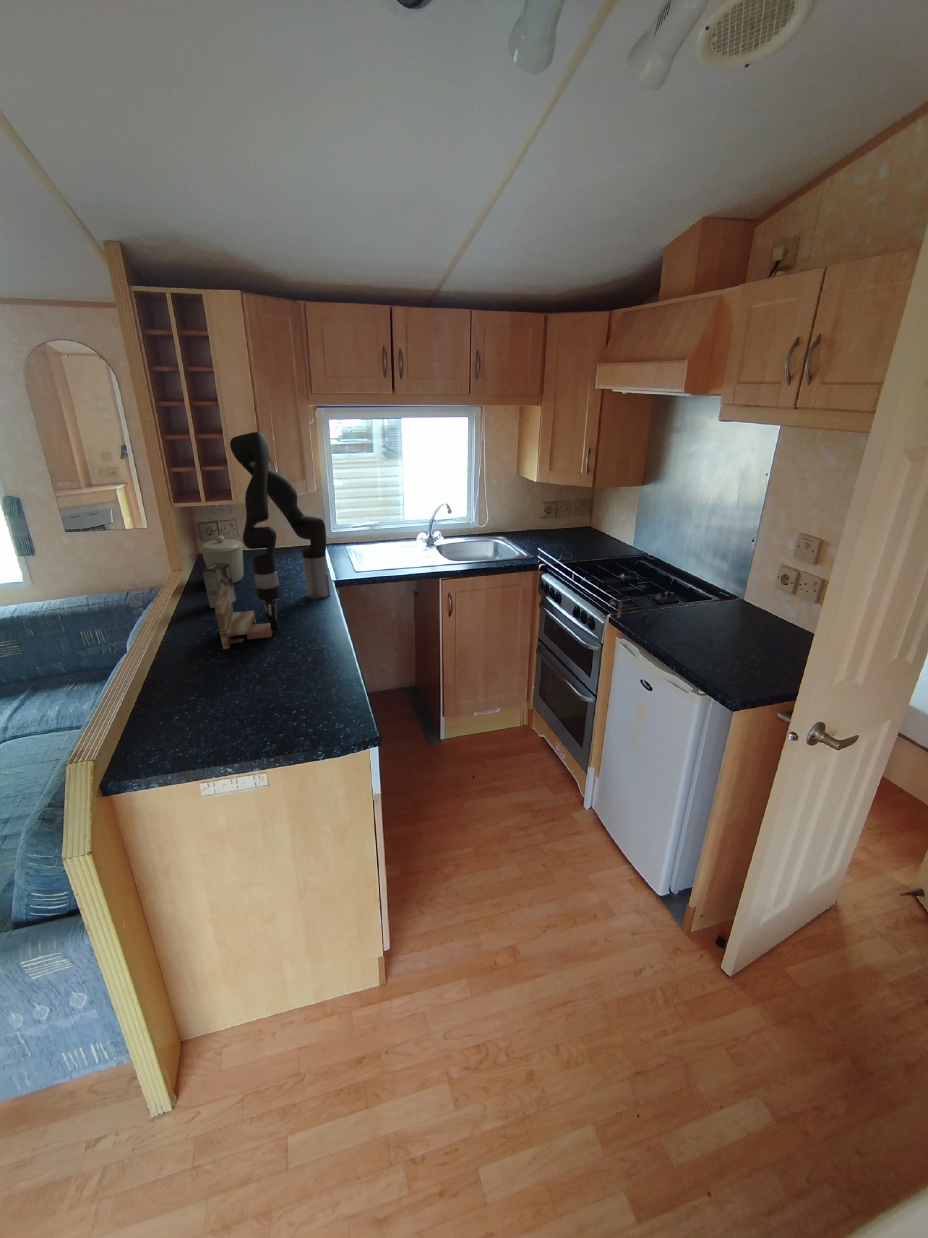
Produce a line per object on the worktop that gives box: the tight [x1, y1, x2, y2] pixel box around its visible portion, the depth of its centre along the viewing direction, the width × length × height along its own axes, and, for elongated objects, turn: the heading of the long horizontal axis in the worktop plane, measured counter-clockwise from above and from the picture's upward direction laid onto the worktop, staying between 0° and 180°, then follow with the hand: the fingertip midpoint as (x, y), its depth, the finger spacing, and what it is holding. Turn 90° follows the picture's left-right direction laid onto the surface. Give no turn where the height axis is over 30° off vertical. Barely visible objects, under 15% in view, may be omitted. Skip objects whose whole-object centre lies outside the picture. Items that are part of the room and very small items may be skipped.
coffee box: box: [201, 563, 237, 609], centre depth 223 cm, size 9×6×16 cm
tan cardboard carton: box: [246, 622, 273, 640], centre depth 198 cm, size 8×7×2 cm
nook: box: [214, 586, 257, 650], centre depth 194 cm, size 9×19×16 cm, turn 14°
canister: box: [199, 535, 244, 584], centre depth 249 cm, size 18×18×21 cm
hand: (274, 629), depth 199 cm, fingers closed
